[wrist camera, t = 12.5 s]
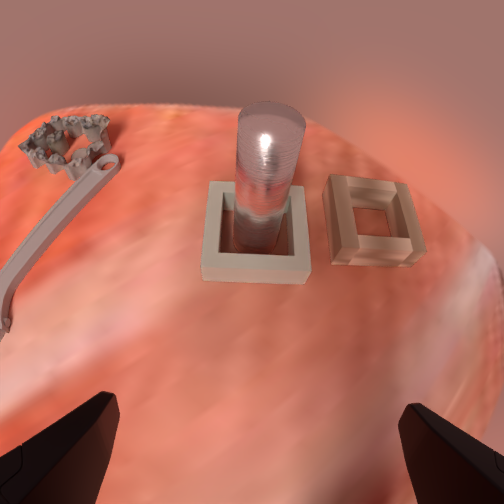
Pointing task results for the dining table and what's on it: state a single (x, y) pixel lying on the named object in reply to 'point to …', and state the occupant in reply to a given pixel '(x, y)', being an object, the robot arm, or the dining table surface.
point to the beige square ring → (364, 246)
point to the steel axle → (264, 173)
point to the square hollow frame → (255, 265)
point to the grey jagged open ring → (57, 142)
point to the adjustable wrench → (51, 230)
